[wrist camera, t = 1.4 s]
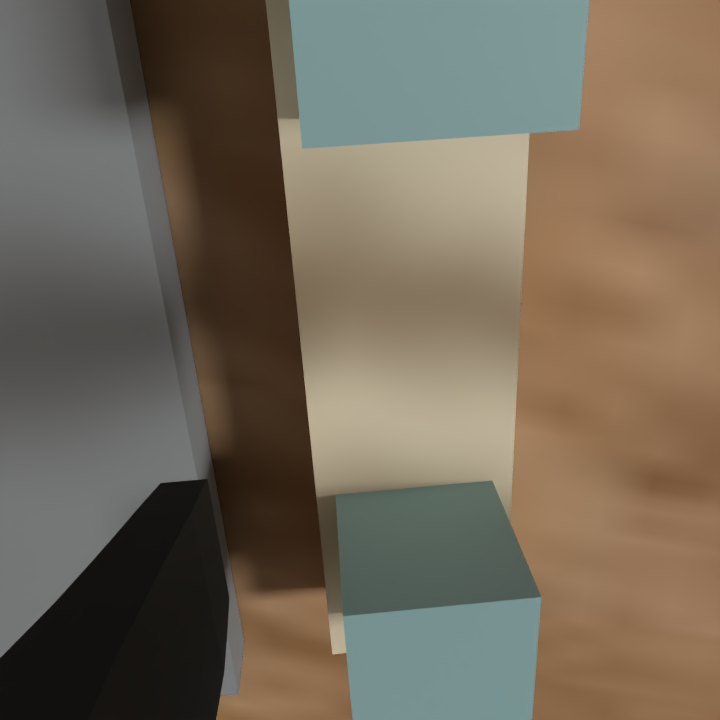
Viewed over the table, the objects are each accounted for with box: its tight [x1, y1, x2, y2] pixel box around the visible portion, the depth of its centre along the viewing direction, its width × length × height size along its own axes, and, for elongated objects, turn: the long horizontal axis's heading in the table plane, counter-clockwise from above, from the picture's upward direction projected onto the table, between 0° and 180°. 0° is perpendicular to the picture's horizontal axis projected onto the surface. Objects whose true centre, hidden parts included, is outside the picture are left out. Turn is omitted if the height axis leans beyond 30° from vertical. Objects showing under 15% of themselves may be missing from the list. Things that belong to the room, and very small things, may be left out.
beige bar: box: [266, 0, 529, 654], centre depth 17 cm, size 20×5×3 cm, turn 3°
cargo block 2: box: [336, 481, 541, 720], centre depth 16 cm, size 4×4×4 cm
